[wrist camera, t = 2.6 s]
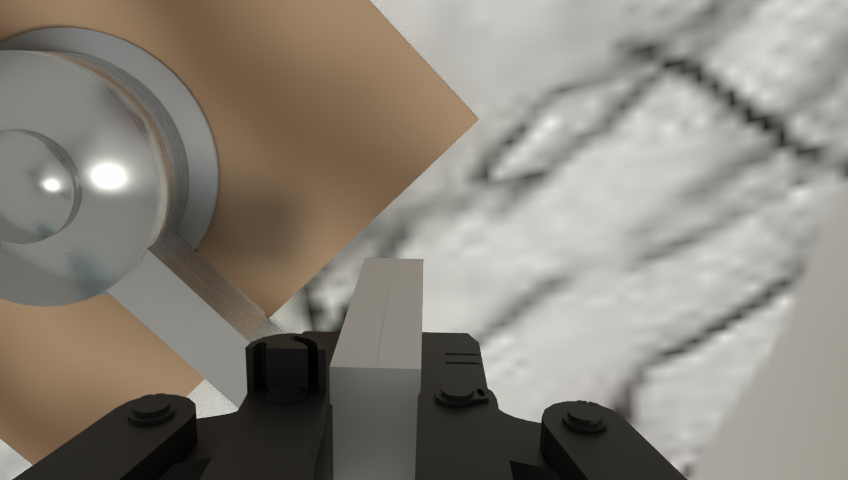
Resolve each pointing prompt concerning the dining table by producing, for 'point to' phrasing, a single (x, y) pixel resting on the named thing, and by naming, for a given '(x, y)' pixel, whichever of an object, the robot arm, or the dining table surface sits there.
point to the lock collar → (110, 210)
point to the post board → (226, 173)
